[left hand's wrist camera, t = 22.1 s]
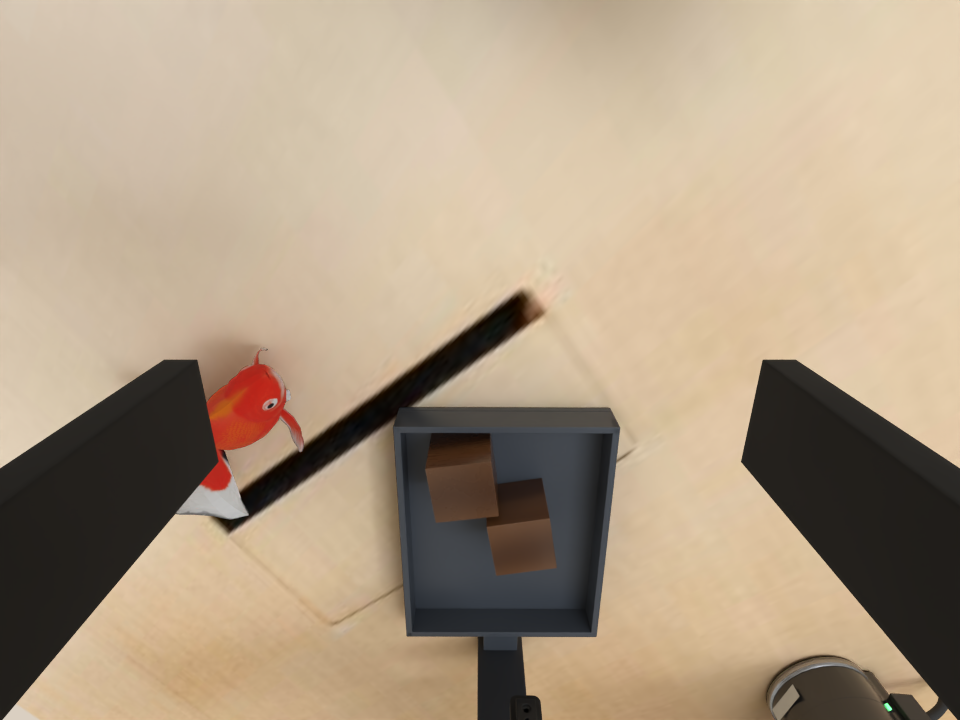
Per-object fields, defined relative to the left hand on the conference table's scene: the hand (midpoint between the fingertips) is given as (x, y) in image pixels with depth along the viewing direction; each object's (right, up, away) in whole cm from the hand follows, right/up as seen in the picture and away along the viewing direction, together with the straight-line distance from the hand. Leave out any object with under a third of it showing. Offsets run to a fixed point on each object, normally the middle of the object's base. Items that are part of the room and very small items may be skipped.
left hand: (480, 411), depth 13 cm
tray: (+2, -14, +32) cm, 35 cm away
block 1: (-1, -6, +28) cm, 29 cm away
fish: (-18, -3, +28) cm, 33 cm away
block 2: (+3, -10, +30) cm, 32 cm away
